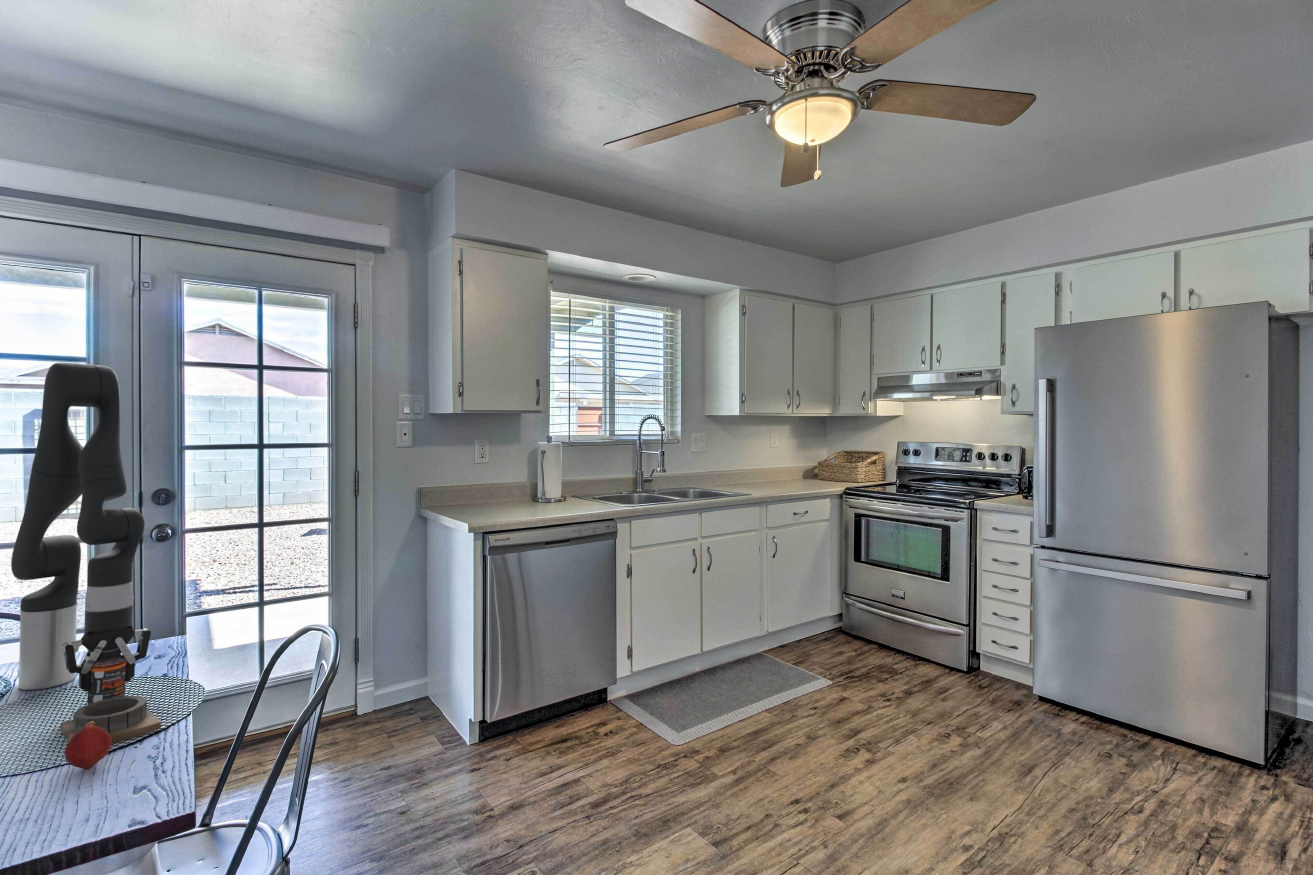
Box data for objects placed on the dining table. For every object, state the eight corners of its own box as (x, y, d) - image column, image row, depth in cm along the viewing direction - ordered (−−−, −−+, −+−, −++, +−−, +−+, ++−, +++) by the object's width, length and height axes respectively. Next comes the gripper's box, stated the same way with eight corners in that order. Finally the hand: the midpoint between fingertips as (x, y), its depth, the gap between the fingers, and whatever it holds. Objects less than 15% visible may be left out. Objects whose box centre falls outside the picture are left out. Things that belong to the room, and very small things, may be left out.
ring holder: (60, 730, 120) (60, 706, 120) (139, 709, 129) (140, 688, 129) (77, 753, 111) (77, 728, 111) (160, 729, 121) (161, 706, 121)
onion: (71, 781, 102) (72, 732, 102) (59, 771, 105) (60, 723, 105) (116, 766, 107) (117, 719, 107) (103, 757, 110) (104, 711, 110)
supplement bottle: (102, 710, 126) (104, 654, 126) (79, 706, 128) (80, 651, 128) (132, 698, 132) (134, 645, 132) (110, 695, 133) (111, 642, 133)
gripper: (147, 595, 138) (145, 671, 138) (58, 608, 126) (55, 691, 126) (157, 601, 133) (155, 680, 133) (66, 615, 122) (64, 701, 122)
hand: (107, 685), depth 130 cm, fingers closed on supplement bottle, 6 cm apart
